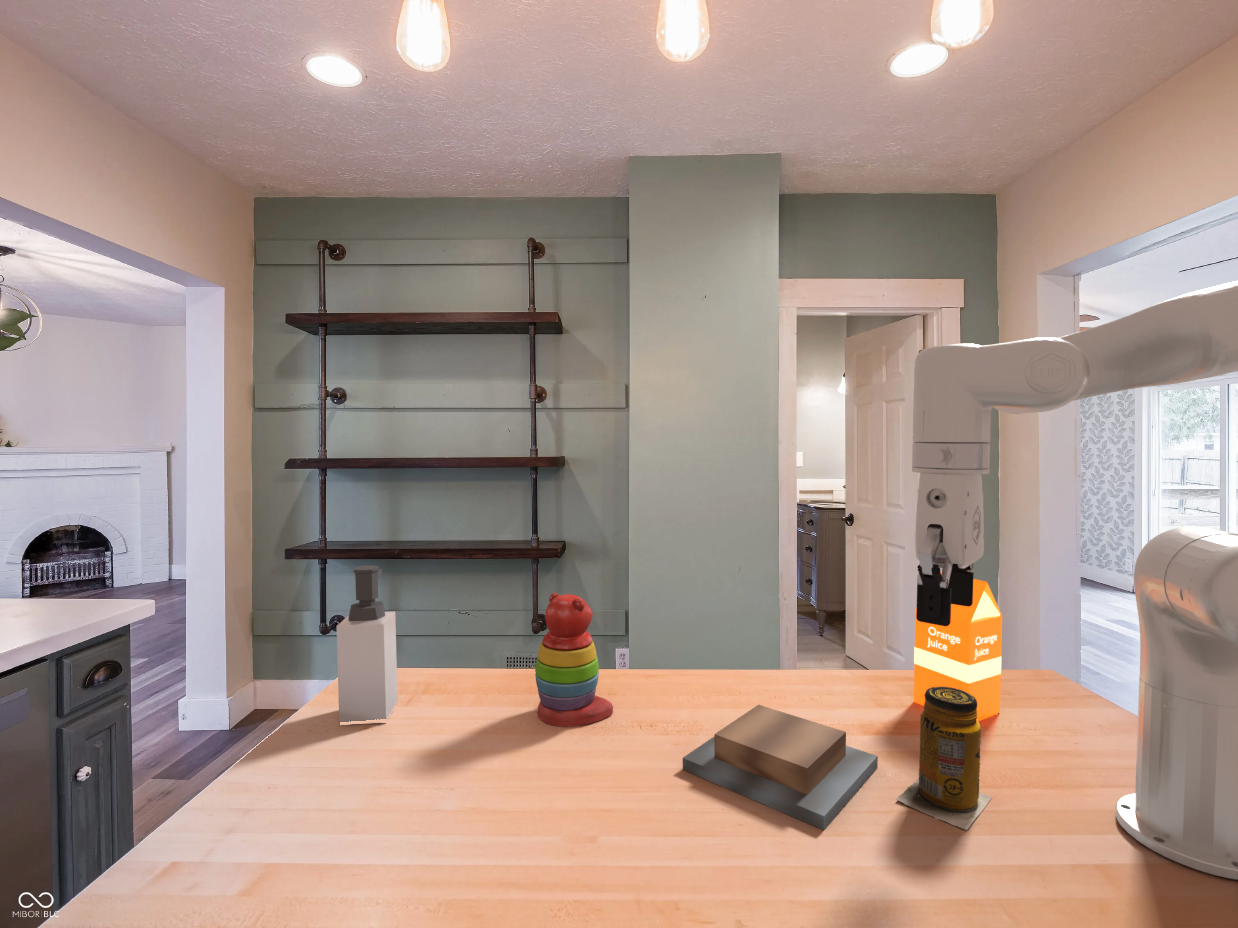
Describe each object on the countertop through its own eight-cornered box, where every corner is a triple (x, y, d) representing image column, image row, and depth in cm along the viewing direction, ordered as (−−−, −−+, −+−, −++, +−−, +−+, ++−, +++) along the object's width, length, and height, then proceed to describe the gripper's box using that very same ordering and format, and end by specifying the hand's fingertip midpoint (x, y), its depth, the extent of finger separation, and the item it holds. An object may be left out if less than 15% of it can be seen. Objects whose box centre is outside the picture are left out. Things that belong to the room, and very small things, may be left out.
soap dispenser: (401, 697, 98) (398, 559, 97) (386, 723, 90) (382, 571, 89) (358, 699, 98) (355, 560, 97) (339, 725, 89) (334, 573, 88)
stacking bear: (619, 712, 93) (618, 594, 92) (567, 736, 85) (566, 608, 85) (571, 691, 100) (570, 582, 99) (520, 712, 93) (518, 594, 92)
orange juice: (967, 725, 88) (970, 585, 87) (912, 701, 96) (914, 572, 95) (1001, 713, 92) (1004, 578, 91) (945, 691, 99) (947, 567, 99)
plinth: (877, 767, 77) (878, 731, 77) (823, 829, 65) (824, 787, 65) (748, 723, 89) (748, 692, 89) (682, 769, 77) (682, 733, 77)
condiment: (991, 798, 71) (994, 694, 70) (966, 831, 65) (969, 718, 64) (924, 773, 76) (926, 676, 75) (895, 802, 70) (897, 697, 69)
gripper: (969, 463, 59) (964, 640, 60) (1004, 458, 72) (1000, 603, 73) (887, 461, 64) (884, 624, 65) (934, 456, 77) (931, 592, 78)
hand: (945, 613), depth 69 cm, fingers open, 9 cm apart
